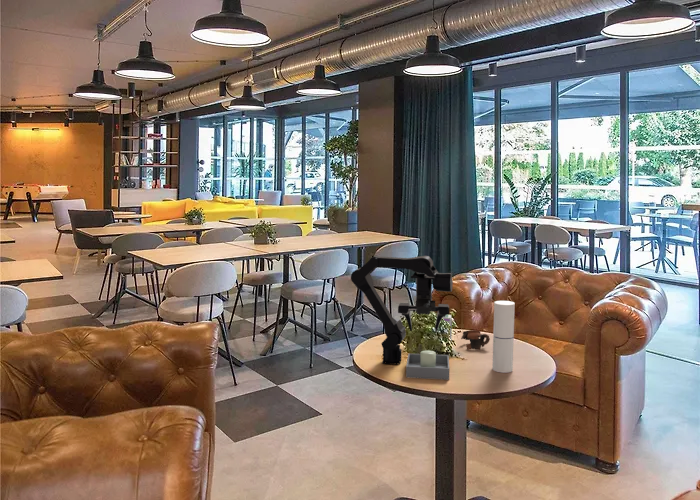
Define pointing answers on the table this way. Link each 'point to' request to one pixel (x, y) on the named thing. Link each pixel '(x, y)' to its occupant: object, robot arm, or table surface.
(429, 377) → the bin
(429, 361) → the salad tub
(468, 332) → the pottery mug
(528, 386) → the table surface
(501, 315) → the cylindrical container
